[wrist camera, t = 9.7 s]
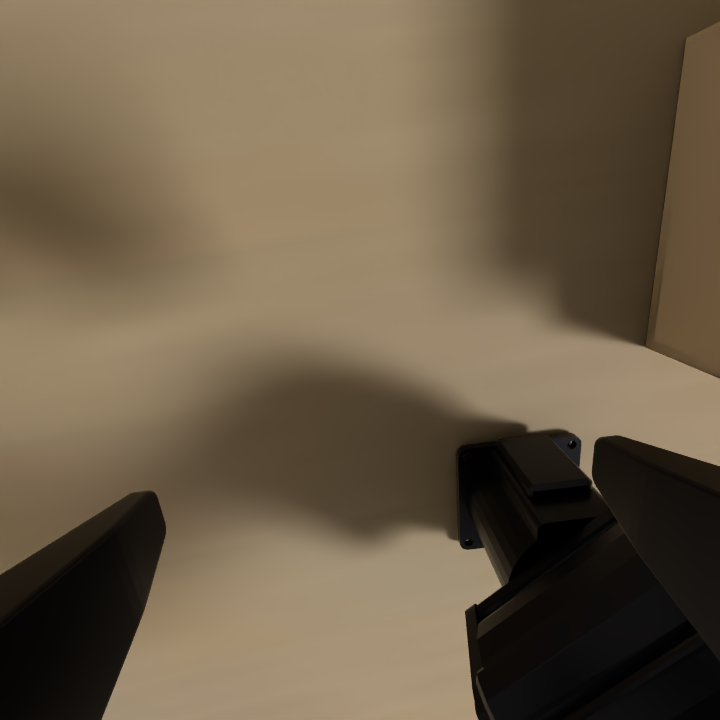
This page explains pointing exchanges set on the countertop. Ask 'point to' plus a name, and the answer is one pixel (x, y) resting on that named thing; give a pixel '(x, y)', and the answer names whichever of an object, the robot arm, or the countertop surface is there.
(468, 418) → the countertop surface
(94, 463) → the countertop surface
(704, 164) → the wooden drawer
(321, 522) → the countertop surface
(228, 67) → the countertop surface
